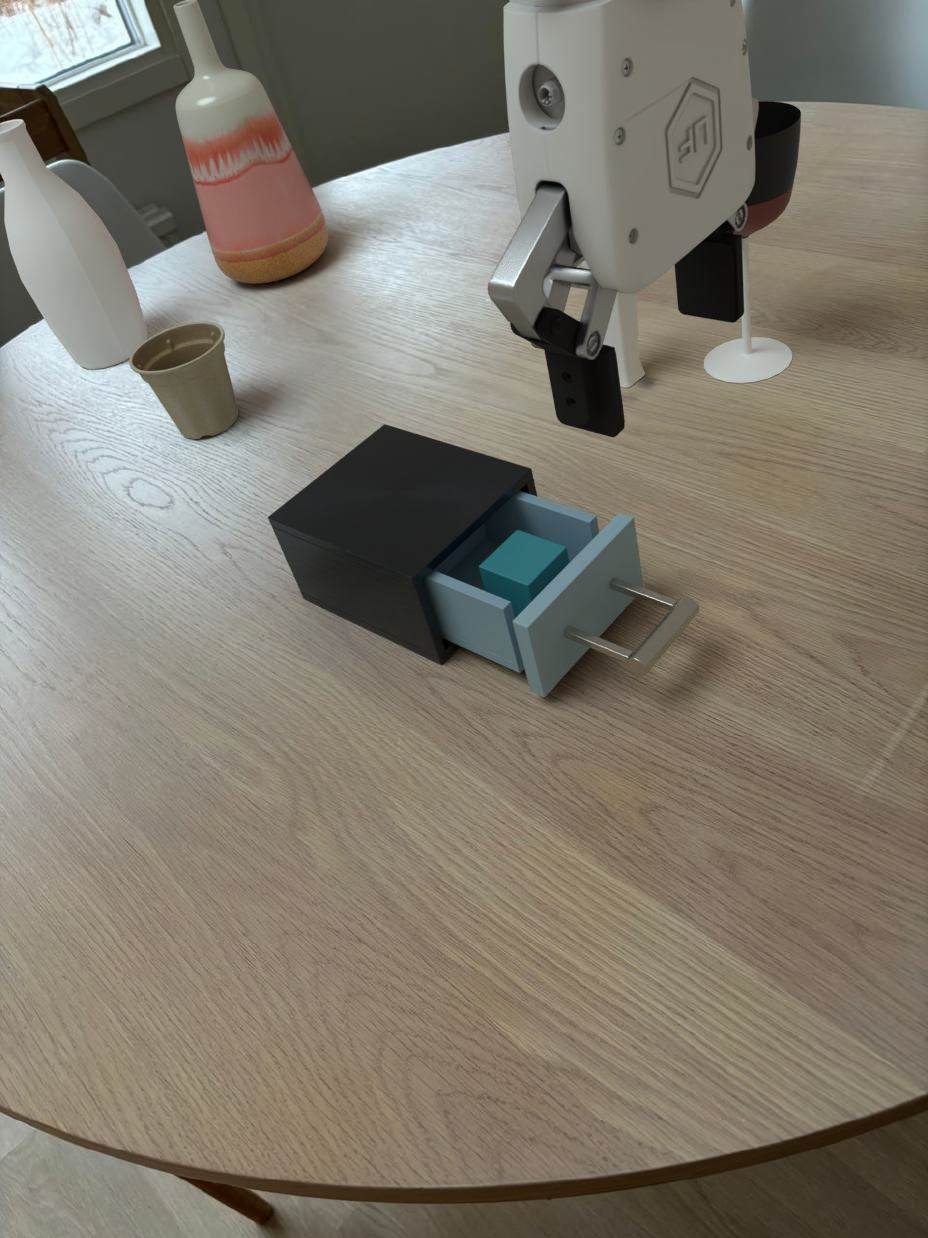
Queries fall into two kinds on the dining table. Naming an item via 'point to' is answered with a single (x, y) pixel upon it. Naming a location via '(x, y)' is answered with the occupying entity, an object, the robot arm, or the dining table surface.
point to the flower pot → (189, 377)
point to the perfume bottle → (624, 337)
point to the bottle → (67, 258)
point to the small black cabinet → (391, 530)
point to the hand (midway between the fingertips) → (653, 368)
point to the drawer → (552, 595)
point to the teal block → (522, 568)
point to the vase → (244, 168)
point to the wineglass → (764, 206)
